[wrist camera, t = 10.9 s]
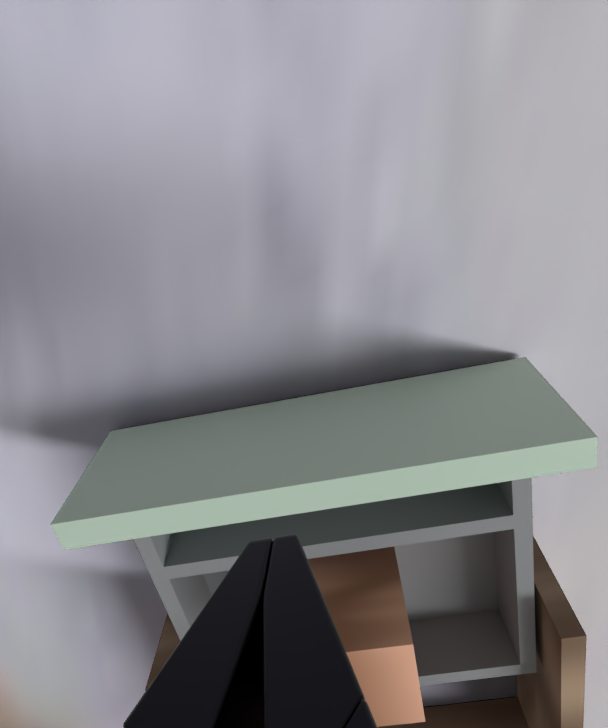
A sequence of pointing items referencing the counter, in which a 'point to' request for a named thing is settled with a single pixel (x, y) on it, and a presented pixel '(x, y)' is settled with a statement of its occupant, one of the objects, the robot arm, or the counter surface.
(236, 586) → the robot arm
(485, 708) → the sleeve
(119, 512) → the tray
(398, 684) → the block
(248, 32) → the counter surface
